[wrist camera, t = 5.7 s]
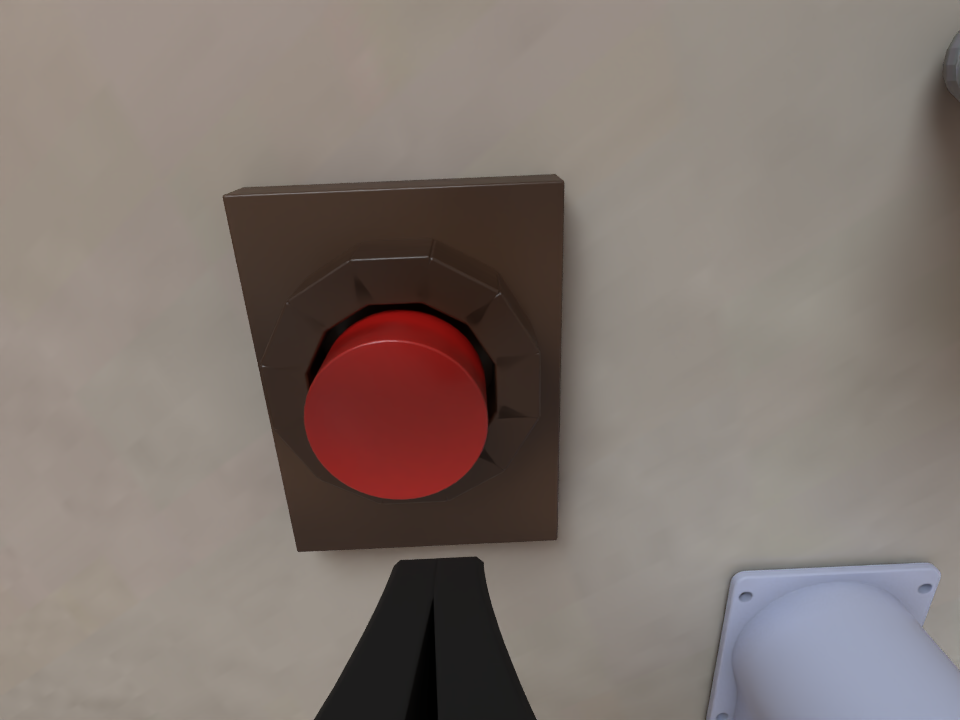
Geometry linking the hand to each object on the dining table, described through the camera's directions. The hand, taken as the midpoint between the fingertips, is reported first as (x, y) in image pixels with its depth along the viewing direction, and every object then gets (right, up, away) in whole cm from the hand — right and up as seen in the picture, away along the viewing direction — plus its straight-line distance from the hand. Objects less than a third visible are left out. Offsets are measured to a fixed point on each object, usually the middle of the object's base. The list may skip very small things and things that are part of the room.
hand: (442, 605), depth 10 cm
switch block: (-1, +4, +10) cm, 10 cm away
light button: (-1, +3, +6) cm, 7 cm away
